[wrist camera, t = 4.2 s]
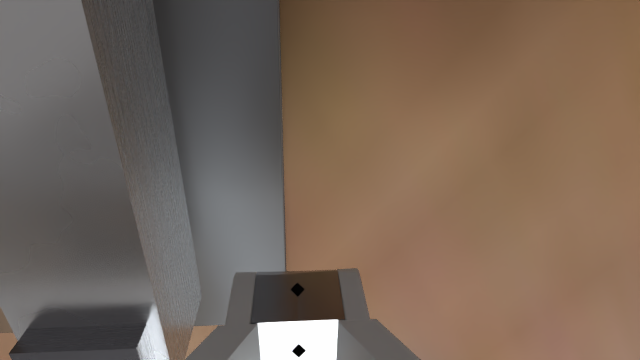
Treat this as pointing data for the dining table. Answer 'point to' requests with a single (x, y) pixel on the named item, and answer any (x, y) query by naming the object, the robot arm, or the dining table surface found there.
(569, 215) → the dining table surface
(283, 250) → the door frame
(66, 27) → the latch bar
